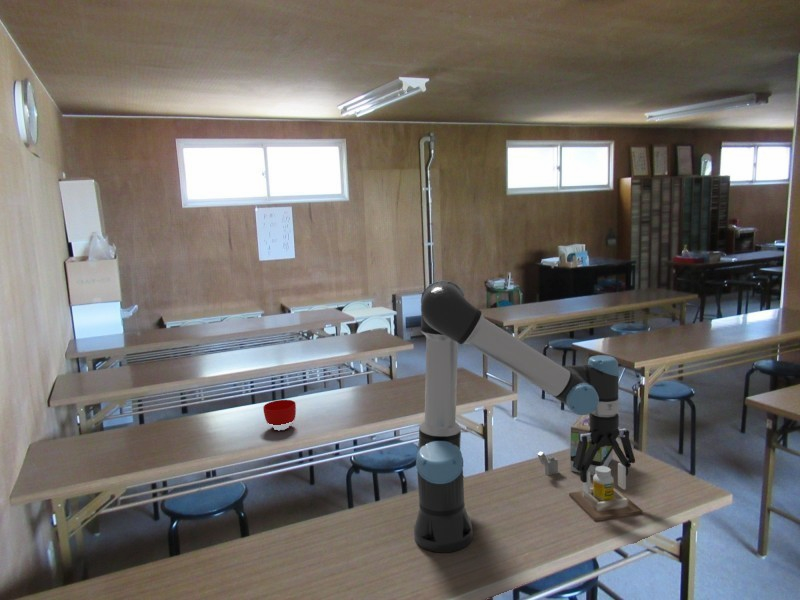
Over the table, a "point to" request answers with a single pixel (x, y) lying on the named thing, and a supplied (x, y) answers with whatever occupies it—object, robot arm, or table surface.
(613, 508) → the socket board
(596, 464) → the tea box
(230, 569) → the table surface
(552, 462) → the lighter
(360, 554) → the table surface
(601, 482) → the supplement bottle
